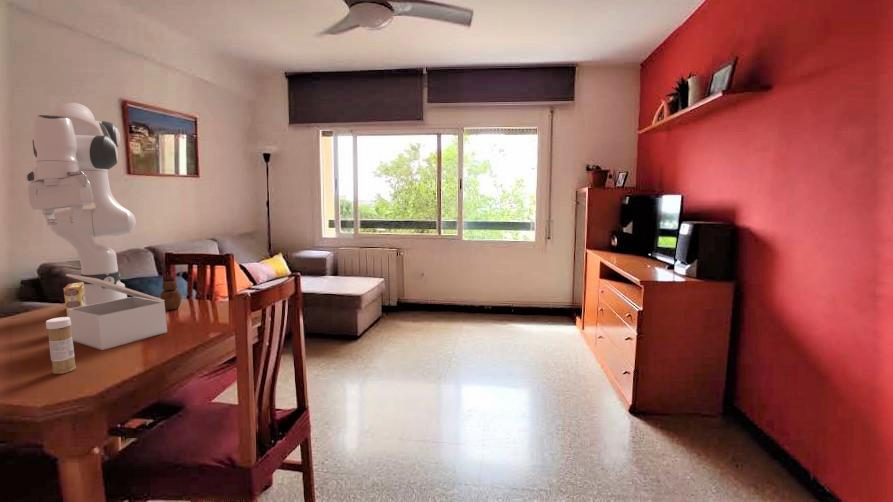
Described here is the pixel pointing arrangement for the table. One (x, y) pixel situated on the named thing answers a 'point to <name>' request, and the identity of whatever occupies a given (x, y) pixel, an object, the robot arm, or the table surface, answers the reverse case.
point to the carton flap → (114, 287)
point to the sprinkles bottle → (61, 345)
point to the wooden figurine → (170, 293)
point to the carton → (117, 322)
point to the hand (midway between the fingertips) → (63, 224)
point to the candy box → (74, 296)
